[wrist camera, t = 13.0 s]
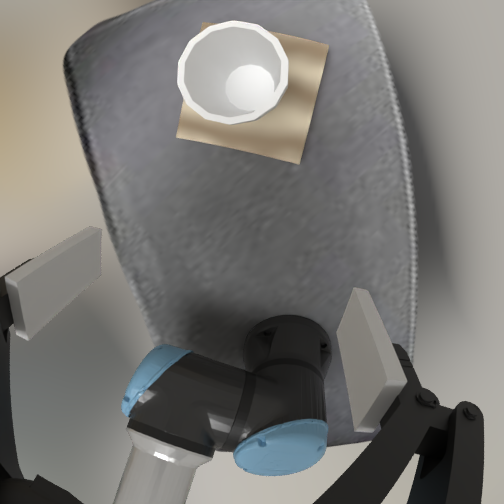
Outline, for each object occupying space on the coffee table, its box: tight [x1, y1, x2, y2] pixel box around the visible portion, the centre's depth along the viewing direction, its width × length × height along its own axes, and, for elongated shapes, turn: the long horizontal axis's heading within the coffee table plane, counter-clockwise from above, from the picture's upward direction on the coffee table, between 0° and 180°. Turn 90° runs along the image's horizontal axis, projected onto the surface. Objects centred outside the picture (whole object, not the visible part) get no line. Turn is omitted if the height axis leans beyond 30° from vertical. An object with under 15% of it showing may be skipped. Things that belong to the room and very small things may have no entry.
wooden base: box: [176, 22, 329, 164], centre depth 37 cm, size 16×16×4 cm
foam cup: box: [177, 20, 289, 125], centre depth 29 cm, size 10×9×13 cm
